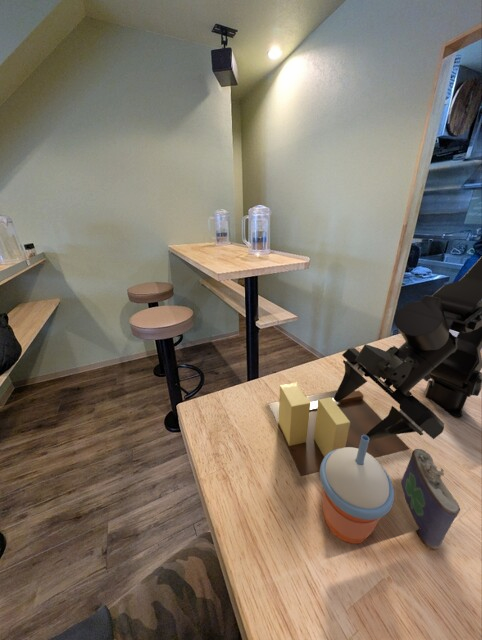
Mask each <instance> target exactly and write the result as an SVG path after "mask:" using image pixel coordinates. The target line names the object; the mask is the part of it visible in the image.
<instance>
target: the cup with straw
mask: <svg viewBox="0 0 482 640" xmlns="http://www.w3.org/2000/svg"><path fill="white" fill-rule="evenodd" d="M368 443H369V437H368V436H367V435H362V436H361V440H360V445H359V449H358V448H353V447H345V448H340V449H336V450H333V451H331V452H330V453H328V454H327V455H326V456H325V457H324V459H323V461H322V463H321V466H320V472H319V478H320V479H319V480H320V483H321V486H322V498H321V499H322V501H321V503H322V504H321V505H322V509H323V510H322V511H323V516H324V520H325V523H326V525H327V526H328V528H329V529H330V531H331V532H332V533H333V534H334V535H335V537H337V538H339V539H340V540H342V541H343V542H345V543H349V544H360V543H362V542H364V541H366V539H367V538H368V537H369V536H370V535H371V534H372V533H373V532H374V530H375V528H376V526H377V525H378V523H379V522H380V520H381V518H383V517H385V516H386V515H387V514H389V513H390V511H391V509H392V507H393V505H394V501H395V490H394V485H393V482H392V480H391V478H390V476H389V474H388V473H387V471H386V469H385V468H384V467H383V466H382V464H381V463H380V462H379V461H378V460H377V458H374V457H373V456H371V455H370V454H369V453H367V452H366V451H367V447H368Z"/></svg>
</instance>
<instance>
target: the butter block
mask: <svg viewBox="0 0 482 640" xmlns="http://www.w3.org/2000/svg"><path fill="white" fill-rule="evenodd" d="M306 396H307V395H306V394H305V392H304V390H302V388H301V387H300V385H299V383H298V382H291V383H287V384H286V383H285V384H280V385H279V397H278V398H279V399H278V401H279V425H280V427H281V429H282V431H283V433H284V436H285V438H286V440H287V442H288V444H289V446H291V445H296V444H300V443H305V442H306V440H307V430H308V421H309V411H310V402H309V400H308V399H307V397H306Z"/></svg>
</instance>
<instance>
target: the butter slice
mask: <svg viewBox="0 0 482 640" xmlns="http://www.w3.org/2000/svg"><path fill="white" fill-rule="evenodd" d="M349 426H350V421H349V420H348V419H347V417H346V416H345V415H344V413H343V412H342V411H341V410H340V408H339V407H338V406H337V404H336V403H335V402H334V401H333V399H332V398H331V397H330V398H324V399H319V400H318V408H317V416H316V425H315V433H314V440H315V441H316V443H317V445H318V447H319V448H320V450H321V452H322V454H323V456H324V457H325V456H326V455H327V454H328V453H330V452H331V451H333V450H336V449H340V448H345V446H346V441H347V436H348V431H349Z"/></svg>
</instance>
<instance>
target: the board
mask: <svg viewBox="0 0 482 640" xmlns="http://www.w3.org/2000/svg"><path fill="white" fill-rule="evenodd" d="M336 392H337V390H332V391H327V392H326V391H325V392H322V393H316V394H311V395H305V396H306V397H307V399H308V400H309V402H314V401H318V400H319V399H324V398H330V397H331V398H334V396H335V394H336ZM353 392H354V391H353ZM268 406H269V409H270V411H271V413H272V415H273V418H274V420H275V422H276V425H277V426H278V429H279V431H280V434H281V435H282V438H283V441H284V442H285V445H286V447H287V449H288V452H289V454H290V456H291V458H292V460H293V462H294V465H295V468H296V469H297V472H298V474H299V476H300V477H304V476H308V475H313V474H317V473H320V466H321V463H322V461H323V459H324V456H323V454H322V452H321V450H320V448H319V447H318V445H317V443H316V441H315V440H314V433H315V425H316V416H317V409H316V410H311V411H309V421H308V430H307V440H306V442H305V443H300V444H296V445H291V446H289V444H288V442H287V440H286V438H285V436H284V433H283V431H282V429H281V427H280V425H279V400H278V401H273V402H268ZM337 406H338V407H339V408H340V410H341V411H342V412H343V413H344V415H345V416H346V417H347V419H348V420H349V421H350V426H349V431H348V436H347V441H346V446H345V447H353V448H358V449H359V445H360V440H361V436H362V435H366V434H367V433H368V432H369V431H370V430H371V429H372V428H373V427H375V426H376V425H377V424H378V423H380V422H381V421H382V420H383V419H382V418H381V417H380V416H379V414H378V413H376V412H375V411H374V409H373V408H372V407H371V406H370V405H369V404H368V403H367V402H366V401H365V400H364V398H363V399H362V400H357V401H352V402H347V403H342V404H340V405H337ZM408 450H410V447H409V446H408V445H407V443H405V442H404V441H403V439H401V438H400V437H399V436H398V434H396V435H391V436H387V437H383V438H379V439H375V440H371V441H369V443H368V447H367V451H366V452H367V453H369V454H370V455H371V456H373V457H374V458H375V459H377V458H380V457H384V456H387V455H392V454H396V453H401V452H404V451H408Z"/></svg>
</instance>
